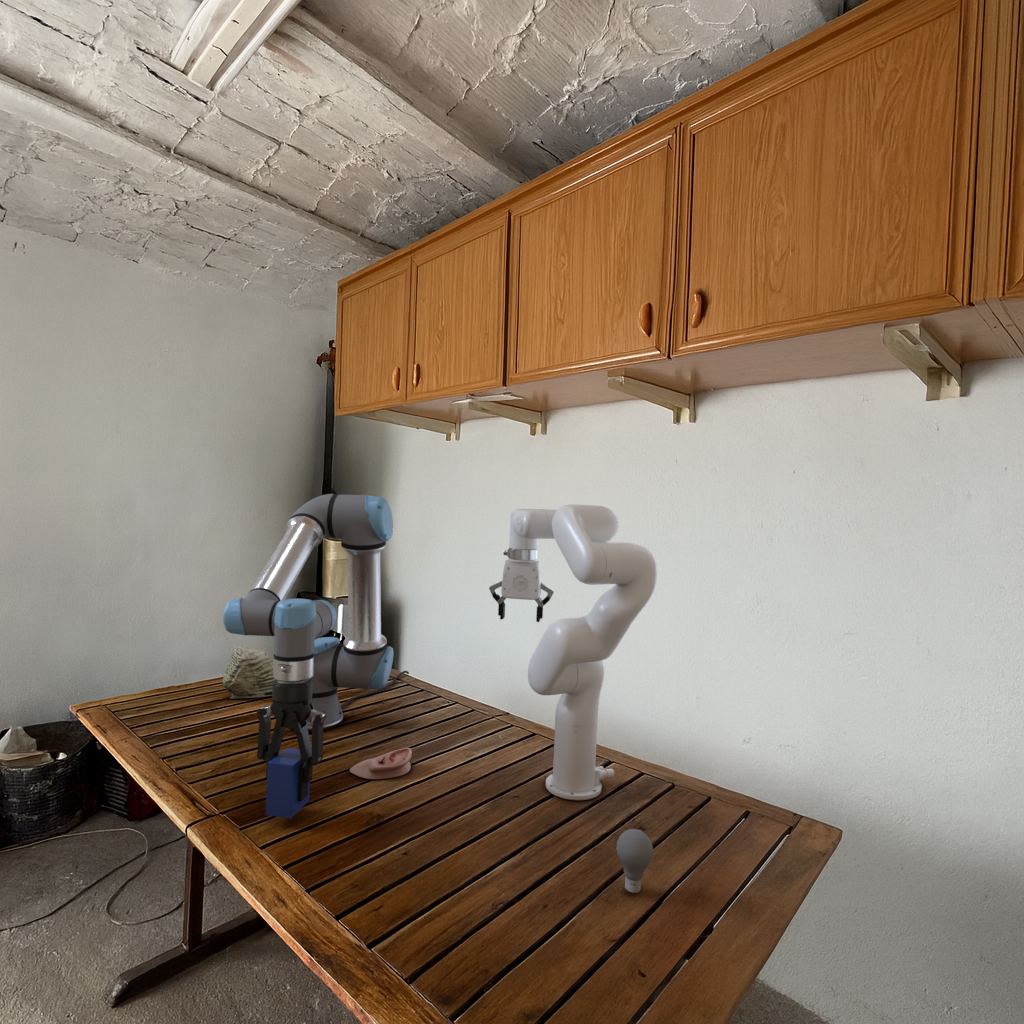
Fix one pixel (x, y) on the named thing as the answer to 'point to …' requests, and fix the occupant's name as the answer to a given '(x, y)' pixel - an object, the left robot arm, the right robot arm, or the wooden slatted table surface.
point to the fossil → (249, 673)
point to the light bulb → (634, 857)
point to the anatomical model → (384, 765)
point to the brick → (284, 784)
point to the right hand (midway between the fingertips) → (520, 619)
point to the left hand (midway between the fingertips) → (288, 796)
